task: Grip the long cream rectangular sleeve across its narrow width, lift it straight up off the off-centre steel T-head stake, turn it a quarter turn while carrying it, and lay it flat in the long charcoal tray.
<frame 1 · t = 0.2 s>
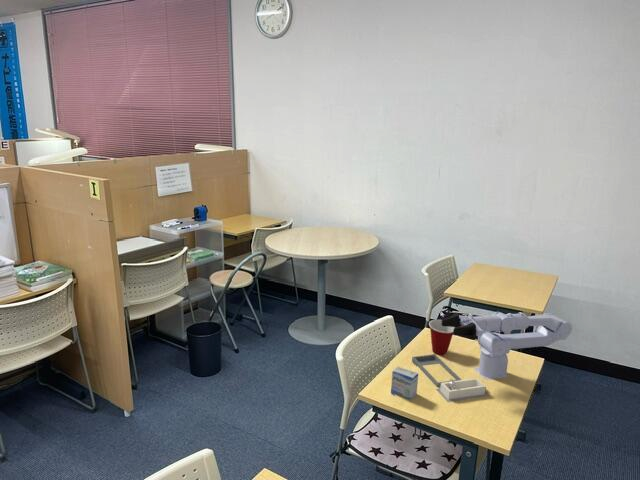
hand: (447, 327, 165), 21 cm above the table, tool horizontal, fingers open, 7 cm apart
medicine box: (403, 395, 162), on the table
tray: (435, 372, 176), on the table
cream rectangular sleeve: (462, 392, 163), point 1 cm above the table, touching stake base
plastic cup: (440, 352, 192), on the table
stake base: (462, 393, 163), on the table
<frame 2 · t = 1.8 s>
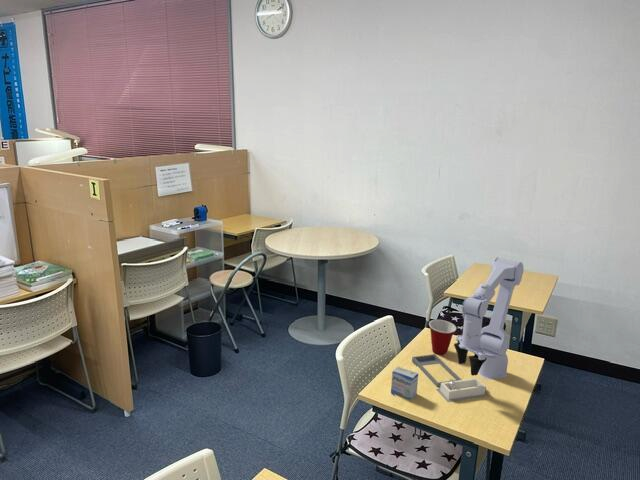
hand: (467, 369, 161), 9 cm above the table, tool pointing down, fingers open, 7 cm apart
nothing on the table moved.
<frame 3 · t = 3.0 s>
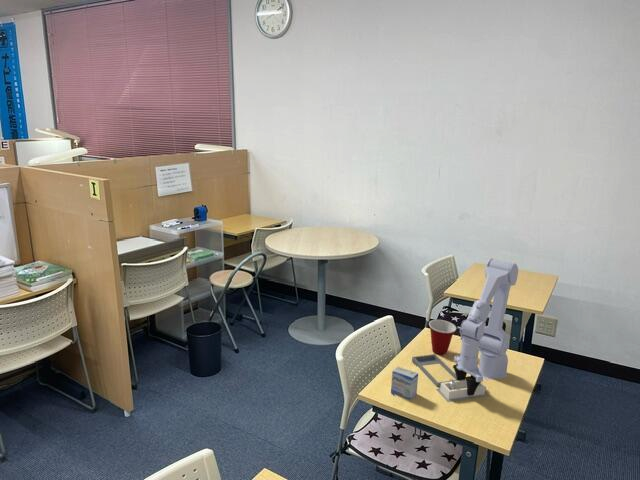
hand: (465, 389, 163), 1 cm above the table, tool pointing down, fingers closed on cream rectangular sleeve, 6 cm apart
cream rectangular sleeve: (462, 392, 163), point 1 cm above the table, touching gripper, stake base
everything else where it was.
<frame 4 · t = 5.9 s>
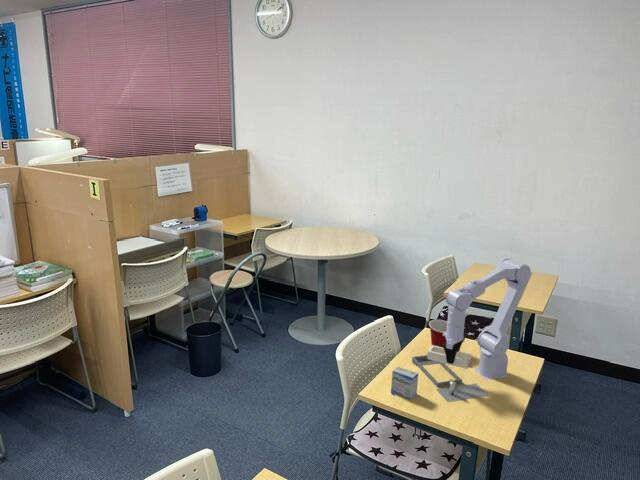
hand: (452, 359, 167), 9 cm above the table, tool pointing down, fingers closed on cream rectangular sleeve, 6 cm apart
cream rectangular sleeve: (448, 360, 168), point 9 cm above the table, touching gripper
everything else where it was.
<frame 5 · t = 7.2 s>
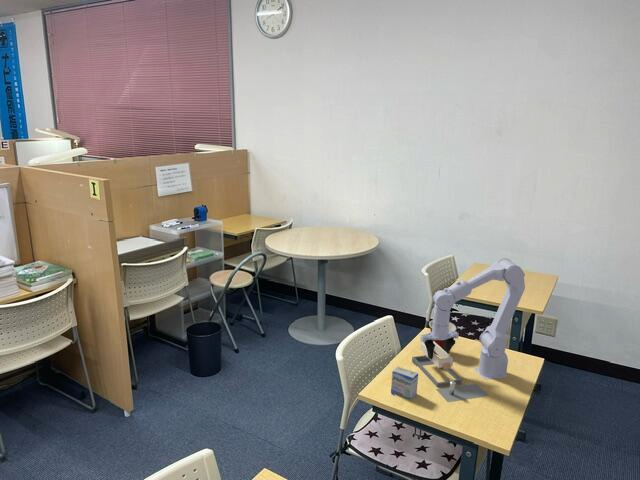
hand: (437, 357, 174), 7 cm above the table, tool pointing down, fingers closed on cream rectangular sleeve, 6 cm apart
cream rectangular sleeve: (435, 357, 175), point 6 cm above the table, touching gripper
everything else where it was.
when the fingers open (3 cm above the table, at t = 8.6 s): cream rectangular sleeve drops 1 cm, resting on tray.
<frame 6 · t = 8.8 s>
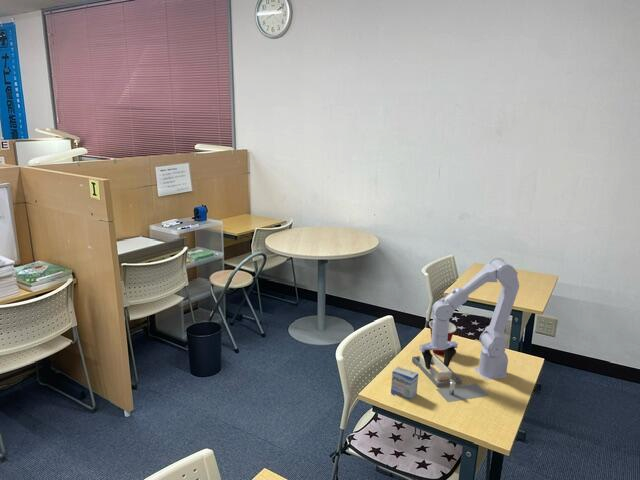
hand: (436, 366, 175), 3 cm above the table, tool pointing down, fingers open, 7 cm apart
cream rectangular sleeve: (434, 370, 177), resting on tray
everything else where it was.
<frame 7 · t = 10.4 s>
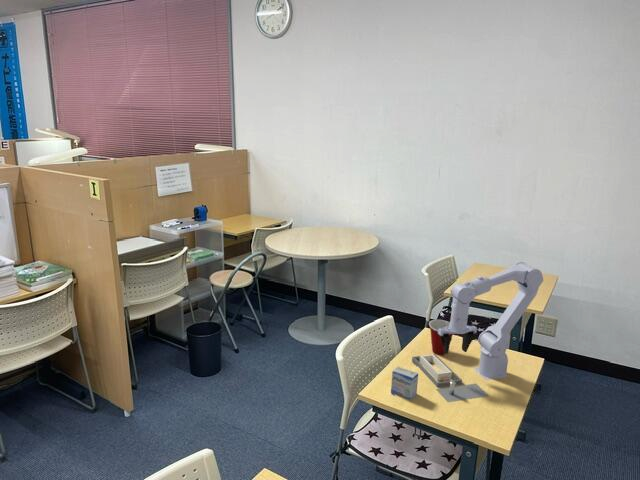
hand: (454, 351, 171), 10 cm above the table, tool pointing down, fingers open, 7 cm apart
nothing on the table moved.
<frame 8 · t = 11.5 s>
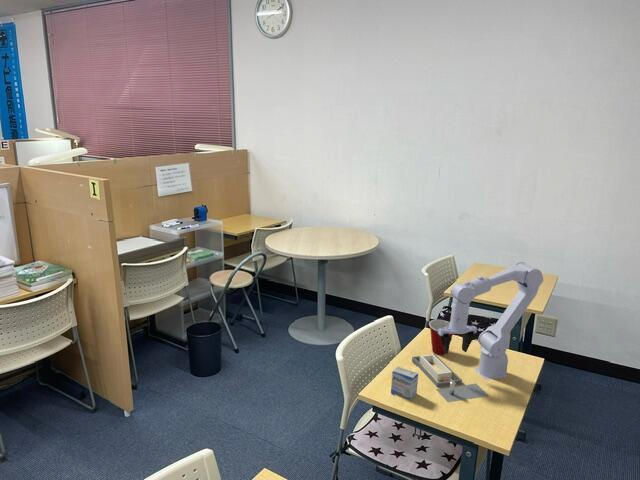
hand: (454, 351, 171), 10 cm above the table, tool pointing down, fingers open, 7 cm apart
nothing on the table moved.
at the end: cream rectangular sleeve 0.2 cm off-centre on the tray, point 0.4 cm above the tray's base; cream rectangular sleeve tilted 0°; the gripper is holding nothing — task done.
